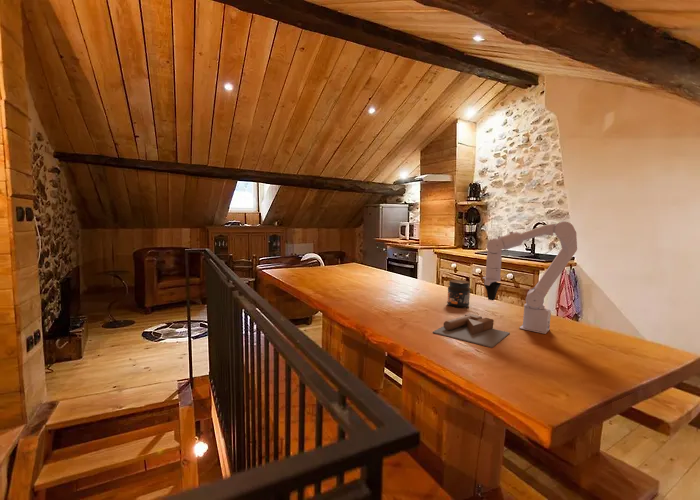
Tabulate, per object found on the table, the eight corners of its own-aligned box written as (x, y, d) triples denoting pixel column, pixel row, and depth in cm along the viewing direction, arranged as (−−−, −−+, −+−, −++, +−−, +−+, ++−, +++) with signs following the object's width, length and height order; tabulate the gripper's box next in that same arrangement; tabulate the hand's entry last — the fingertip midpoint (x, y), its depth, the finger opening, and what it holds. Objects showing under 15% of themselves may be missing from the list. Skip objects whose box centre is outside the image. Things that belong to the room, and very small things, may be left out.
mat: (509, 333, 140) (509, 332, 140) (492, 347, 125) (492, 346, 125) (454, 321, 154) (454, 320, 154) (432, 332, 139) (432, 331, 139)
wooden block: (493, 328, 145) (466, 337, 133) (469, 321, 153) (442, 329, 142) (494, 319, 144) (467, 327, 133) (469, 312, 153) (442, 319, 141)
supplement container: (442, 303, 184) (443, 280, 182) (459, 302, 188) (460, 279, 187) (456, 309, 174) (458, 284, 173) (473, 307, 179) (475, 282, 177)
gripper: (489, 264, 160) (487, 295, 162) (477, 268, 149) (475, 301, 151) (506, 266, 156) (504, 298, 157) (495, 270, 145) (493, 304, 146)
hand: (491, 299), depth 154 cm, fingers closed
